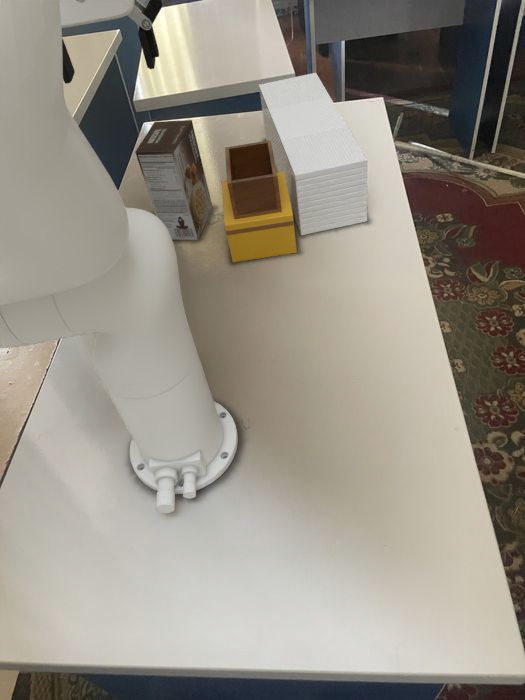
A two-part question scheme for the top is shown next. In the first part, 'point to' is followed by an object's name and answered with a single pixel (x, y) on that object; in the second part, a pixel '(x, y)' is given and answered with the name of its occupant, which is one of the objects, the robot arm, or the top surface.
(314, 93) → the stack of papers
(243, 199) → the wooden box
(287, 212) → the box
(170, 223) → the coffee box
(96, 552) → the top surface
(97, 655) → the top surface
